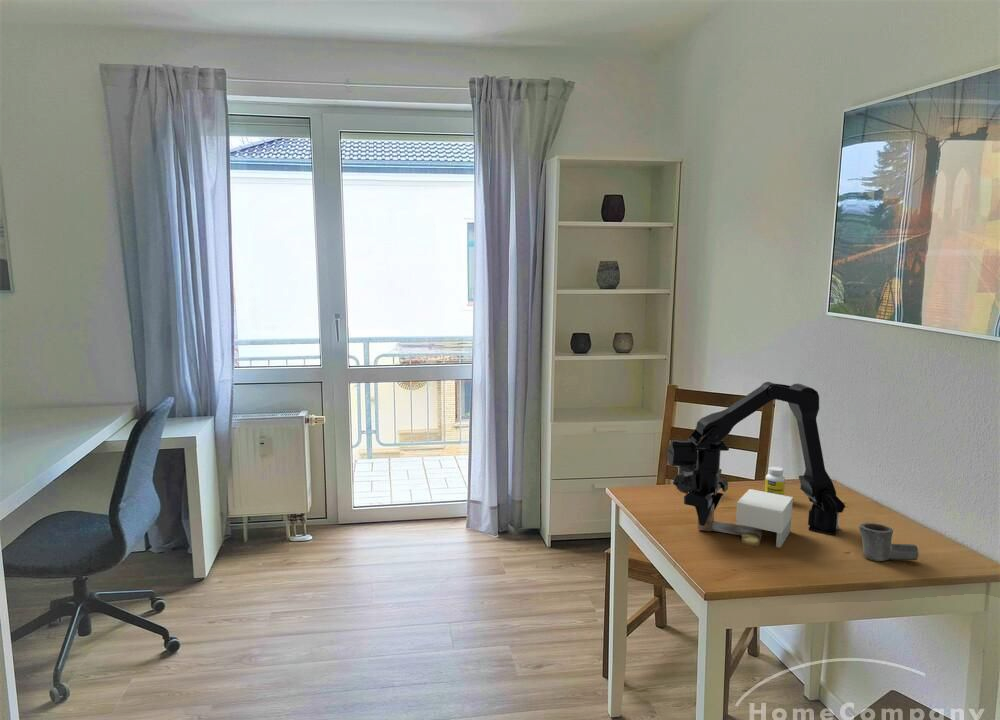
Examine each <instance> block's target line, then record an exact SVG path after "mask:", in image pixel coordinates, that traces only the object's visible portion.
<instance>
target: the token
mask: <svg viewBox="0 0 1000 720" xmlns="http://www.w3.org/2000/svg"><path fill="white" fill-rule="evenodd" d="M741 543H742V544H744V545H746V546H749V545H750V546H749V547H758V546H761V545H760V544H761V538H760V536H759V535H758V534H756V533H751V532H745V533H742V535H741Z"/></svg>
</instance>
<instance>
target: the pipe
mask: <svg viewBox="0 0 1000 720" xmlns="http://www.w3.org/2000/svg"><path fill="white" fill-rule="evenodd" d="M858 529H859V531H860V534H861V539H862V541H861V542H862V556H863V557H865V558H866V559H868V560H871V561H873V562H874V561H875V562H885V561H886V560H890V561H891V560H893V561H917V560H918V559H919V548H918V546H917V545H916V544H913V543H908V544H907V543H905V544H903V543H901V544H900V543H898V544H897V543H892V538H893V532H894V529H893V528H892V527H889V526H887V525H884V524H880V523H873V522H865V523H864V522H863V523H861V524H859V525H858Z"/></svg>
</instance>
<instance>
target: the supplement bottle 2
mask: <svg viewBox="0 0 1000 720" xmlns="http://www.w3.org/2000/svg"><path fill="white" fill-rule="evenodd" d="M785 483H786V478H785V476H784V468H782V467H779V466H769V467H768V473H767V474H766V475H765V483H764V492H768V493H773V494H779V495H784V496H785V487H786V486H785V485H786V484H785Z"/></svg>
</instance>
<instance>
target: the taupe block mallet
mask: <svg viewBox="0 0 1000 720" xmlns="http://www.w3.org/2000/svg"><path fill="white" fill-rule="evenodd" d="M697 530H699V531H706V532H712V531H714V532H720V533H726V534H731V535H738V536H742V533H745V532H751V533H756V534H758V535H759V536H760V539H761V538H762V533H763V531H762V530H763V529H759V528H754V527H749V526H745V525H740V524H736V523H735V524H733V523H729V522H728V523H727V522H722V521H715V511H714V506H713V508H712V510H711V512H710V514H709V517H708V519H707V521H706V523H705V525H704V526H702V525H700V523H699V519H698V518H697Z"/></svg>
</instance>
